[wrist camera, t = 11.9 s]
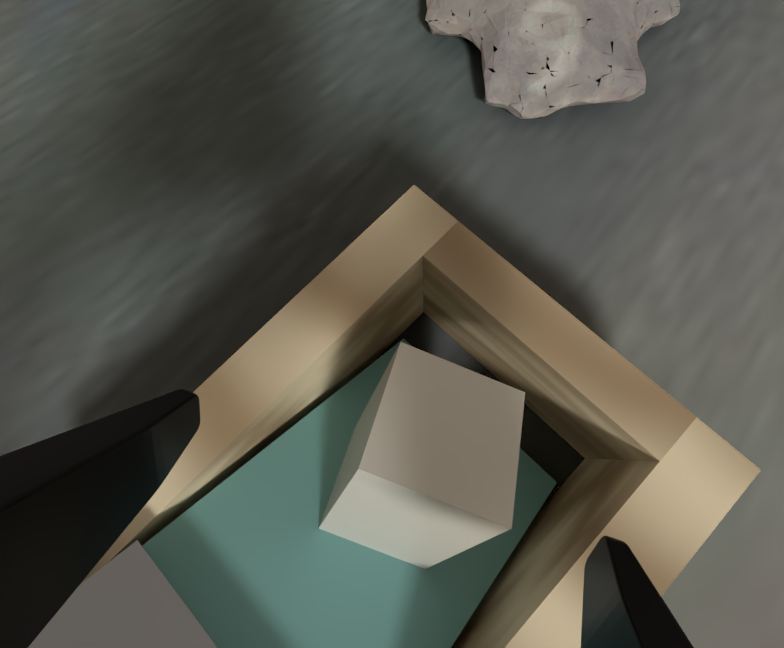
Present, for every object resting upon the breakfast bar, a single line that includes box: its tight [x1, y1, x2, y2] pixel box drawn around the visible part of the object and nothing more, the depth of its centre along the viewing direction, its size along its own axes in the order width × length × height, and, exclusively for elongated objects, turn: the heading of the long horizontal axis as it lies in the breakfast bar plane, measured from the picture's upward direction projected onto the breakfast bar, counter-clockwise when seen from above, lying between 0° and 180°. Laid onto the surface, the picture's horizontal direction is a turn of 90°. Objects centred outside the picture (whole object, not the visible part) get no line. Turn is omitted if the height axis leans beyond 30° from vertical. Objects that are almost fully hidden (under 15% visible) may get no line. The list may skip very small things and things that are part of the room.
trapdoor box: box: [82, 185, 761, 648], centre depth 19 cm, size 23×16×7 cm
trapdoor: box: [28, 338, 557, 648], centre depth 18 cm, size 18×10×3 cm, turn 134°
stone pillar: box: [319, 342, 525, 569], centre depth 16 cm, size 4×4×7 cm
